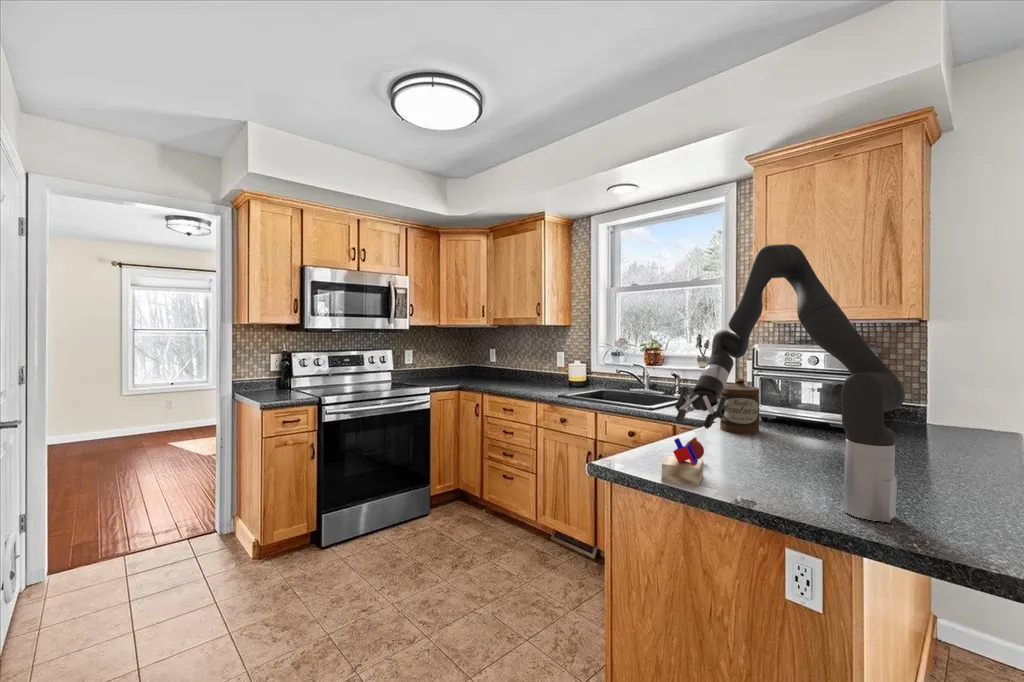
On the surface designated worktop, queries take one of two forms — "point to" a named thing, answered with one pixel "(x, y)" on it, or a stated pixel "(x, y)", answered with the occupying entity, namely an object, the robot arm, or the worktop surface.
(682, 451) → the toy building block
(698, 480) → the maple block
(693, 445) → the onion
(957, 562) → the worktop surface
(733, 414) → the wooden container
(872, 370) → the robot arm
